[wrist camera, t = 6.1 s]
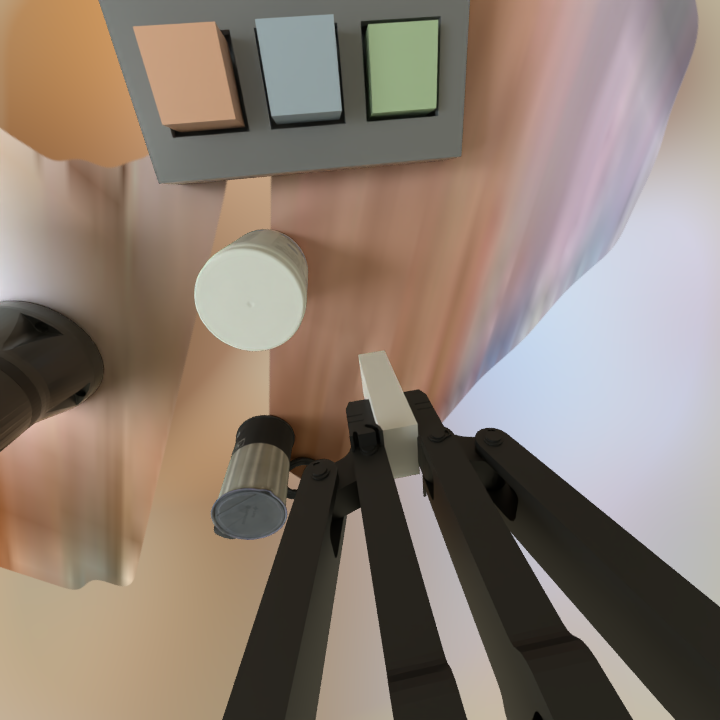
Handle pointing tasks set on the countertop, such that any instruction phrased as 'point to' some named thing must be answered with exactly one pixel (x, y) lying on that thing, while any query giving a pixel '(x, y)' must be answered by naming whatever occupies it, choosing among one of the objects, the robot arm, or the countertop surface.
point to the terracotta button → (190, 76)
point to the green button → (400, 69)
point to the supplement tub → (254, 291)
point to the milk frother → (257, 480)
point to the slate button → (300, 68)
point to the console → (261, 134)
